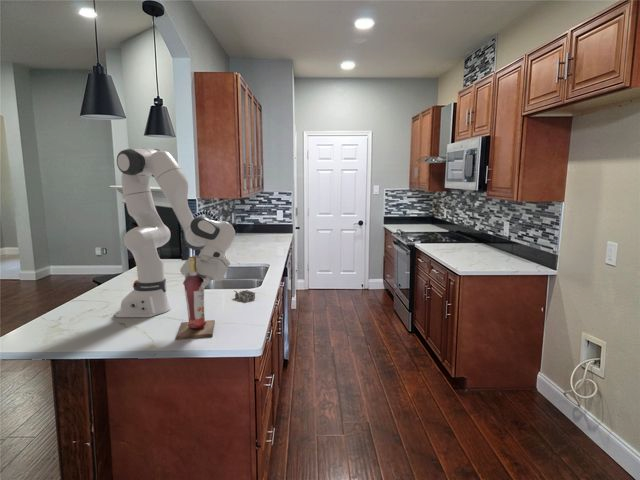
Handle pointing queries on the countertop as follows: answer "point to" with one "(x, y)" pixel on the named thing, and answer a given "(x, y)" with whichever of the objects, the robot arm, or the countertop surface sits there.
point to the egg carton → (246, 293)
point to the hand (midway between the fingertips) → (193, 286)
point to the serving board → (195, 330)
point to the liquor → (194, 297)
